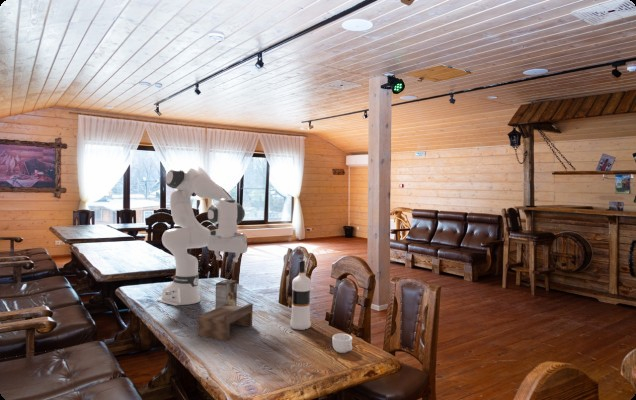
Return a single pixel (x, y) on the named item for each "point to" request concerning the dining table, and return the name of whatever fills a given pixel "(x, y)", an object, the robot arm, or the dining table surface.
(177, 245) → the robot arm
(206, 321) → the walnut shelf
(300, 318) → the vodka
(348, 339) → the teacup
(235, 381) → the dining table surface
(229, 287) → the coffee box
